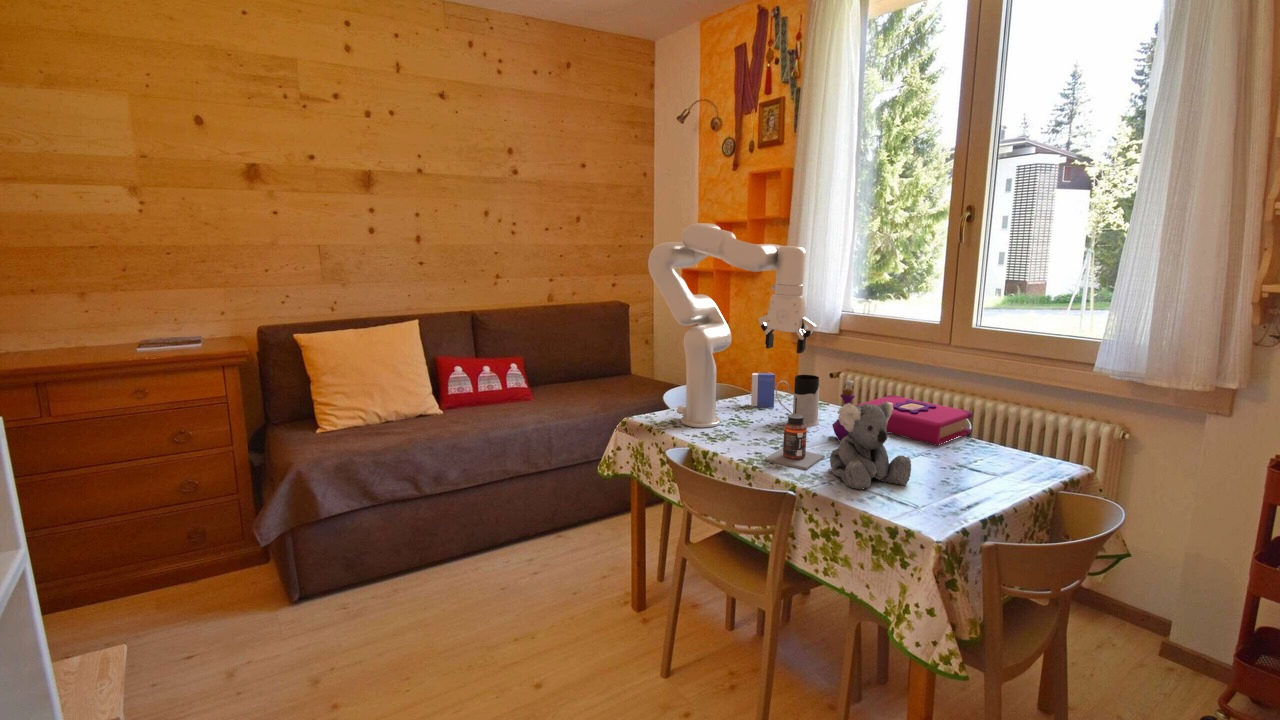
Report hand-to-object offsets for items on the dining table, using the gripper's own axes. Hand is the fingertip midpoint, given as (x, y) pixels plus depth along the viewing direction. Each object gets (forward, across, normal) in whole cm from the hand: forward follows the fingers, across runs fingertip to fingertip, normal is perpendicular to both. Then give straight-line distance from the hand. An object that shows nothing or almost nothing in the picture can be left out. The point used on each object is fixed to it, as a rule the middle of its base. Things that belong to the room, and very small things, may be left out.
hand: (784, 350), depth 191 cm
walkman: (+28, -22, +31) cm, 48 cm away
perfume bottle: (+27, +15, +13) cm, 33 cm away
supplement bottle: (+26, +11, -12) cm, 31 cm away
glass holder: (+28, -4, +20) cm, 34 cm away
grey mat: (+27, +11, -12) cm, 31 cm away
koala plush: (+26, +30, -14) cm, 42 cm away
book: (+27, +27, +36) cm, 52 cm away
